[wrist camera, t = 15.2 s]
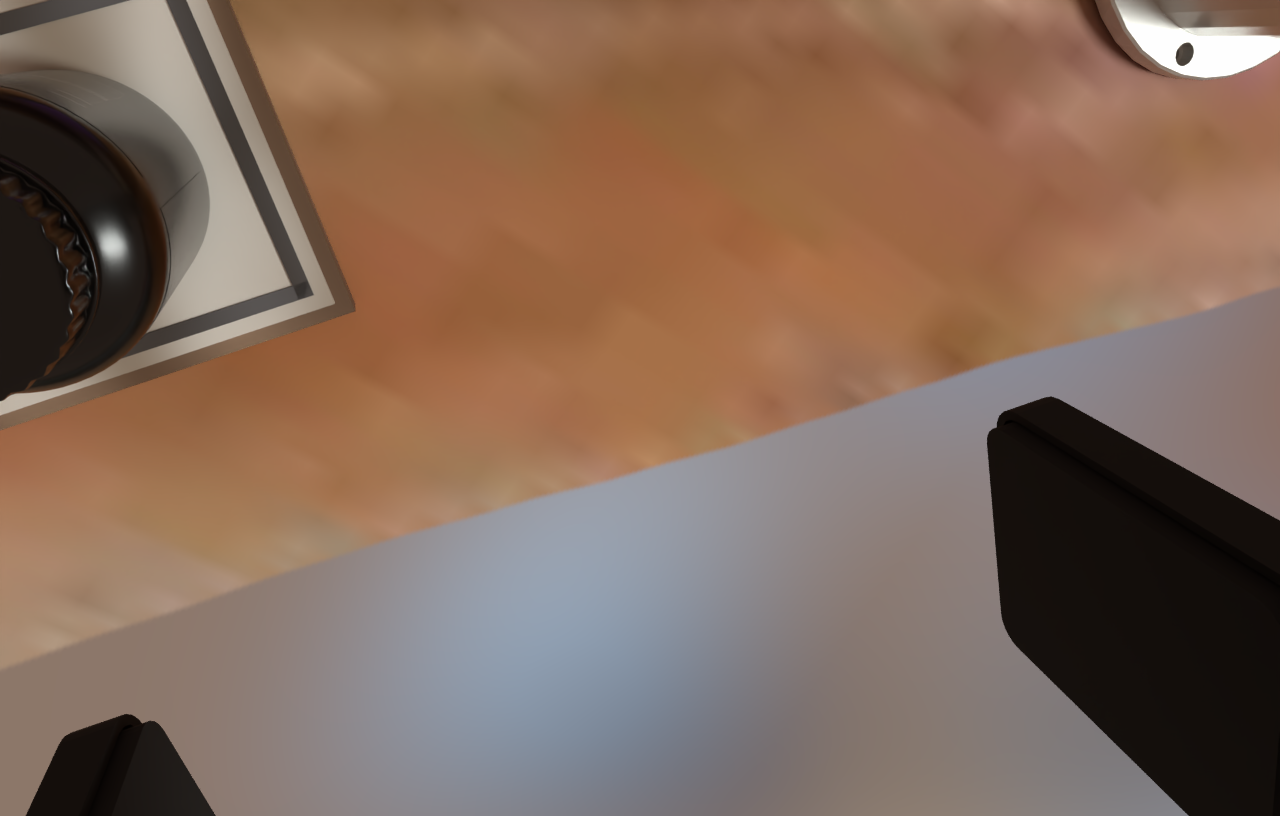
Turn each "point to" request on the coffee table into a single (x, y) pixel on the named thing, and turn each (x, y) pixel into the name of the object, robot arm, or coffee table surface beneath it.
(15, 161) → the supplement bottle
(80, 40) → the white square tile
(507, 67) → the coffee table surface
